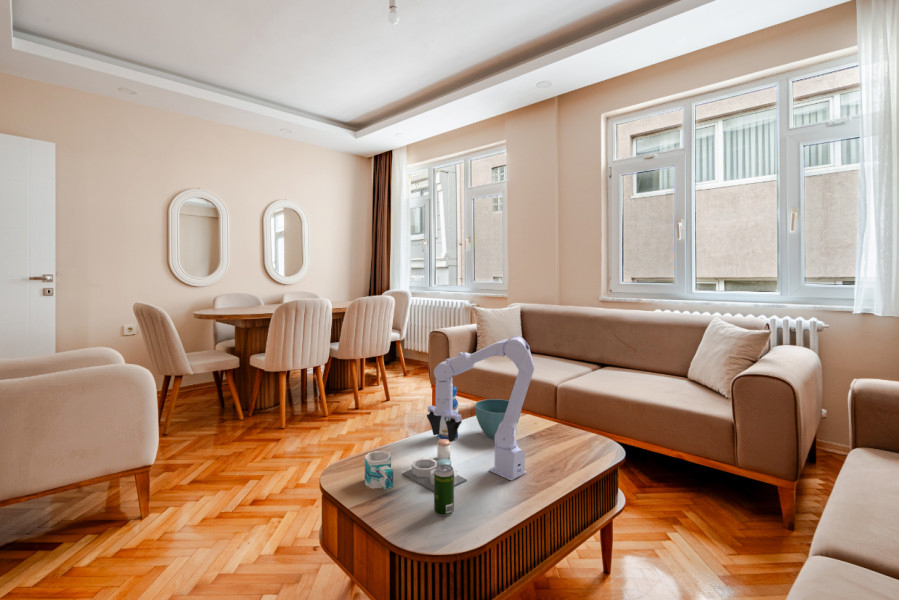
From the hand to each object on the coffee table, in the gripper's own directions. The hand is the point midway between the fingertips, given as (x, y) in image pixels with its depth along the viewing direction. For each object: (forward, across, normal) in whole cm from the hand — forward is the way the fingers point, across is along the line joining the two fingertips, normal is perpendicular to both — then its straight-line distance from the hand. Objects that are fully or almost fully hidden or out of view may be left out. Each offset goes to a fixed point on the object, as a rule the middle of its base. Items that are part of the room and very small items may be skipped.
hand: (443, 437), depth 145 cm
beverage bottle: (+9, -16, +18) cm, 26 cm away
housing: (+9, +5, -9) cm, 14 cm away
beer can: (+9, +21, -20) cm, 31 cm away
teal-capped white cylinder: (+9, +10, -9) cm, 16 cm away
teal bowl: (+9, -4, +33) cm, 35 cm away
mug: (+10, -3, -24) cm, 26 cm away
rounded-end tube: (+9, -3, +3) cm, 10 cm away
